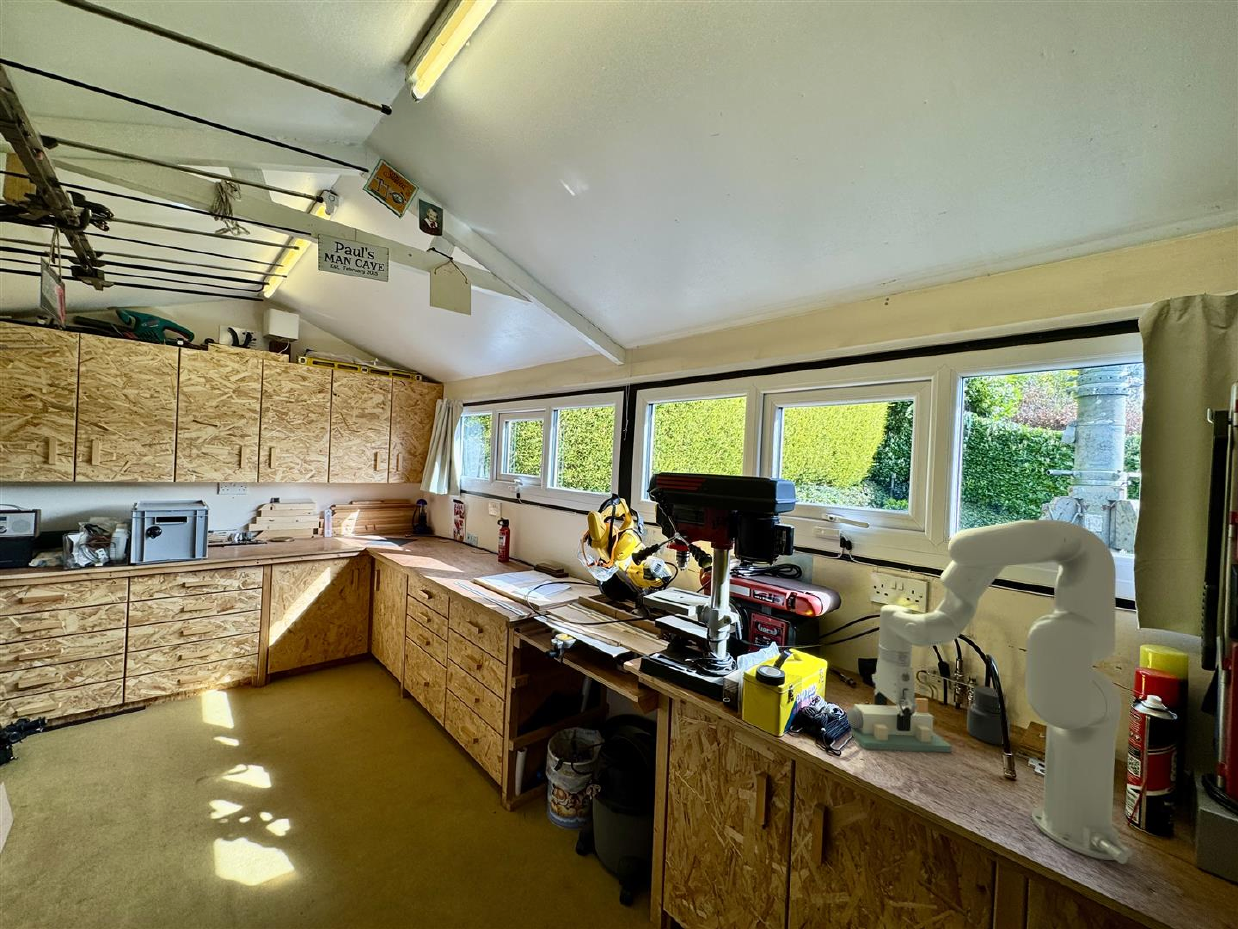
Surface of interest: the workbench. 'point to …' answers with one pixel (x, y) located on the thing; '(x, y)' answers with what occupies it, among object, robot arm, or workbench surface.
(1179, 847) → the workbench surface
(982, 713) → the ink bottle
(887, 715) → the block with grey endcap
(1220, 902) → the workbench surface
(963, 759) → the workbench surface
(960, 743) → the workbench surface
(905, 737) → the jig
